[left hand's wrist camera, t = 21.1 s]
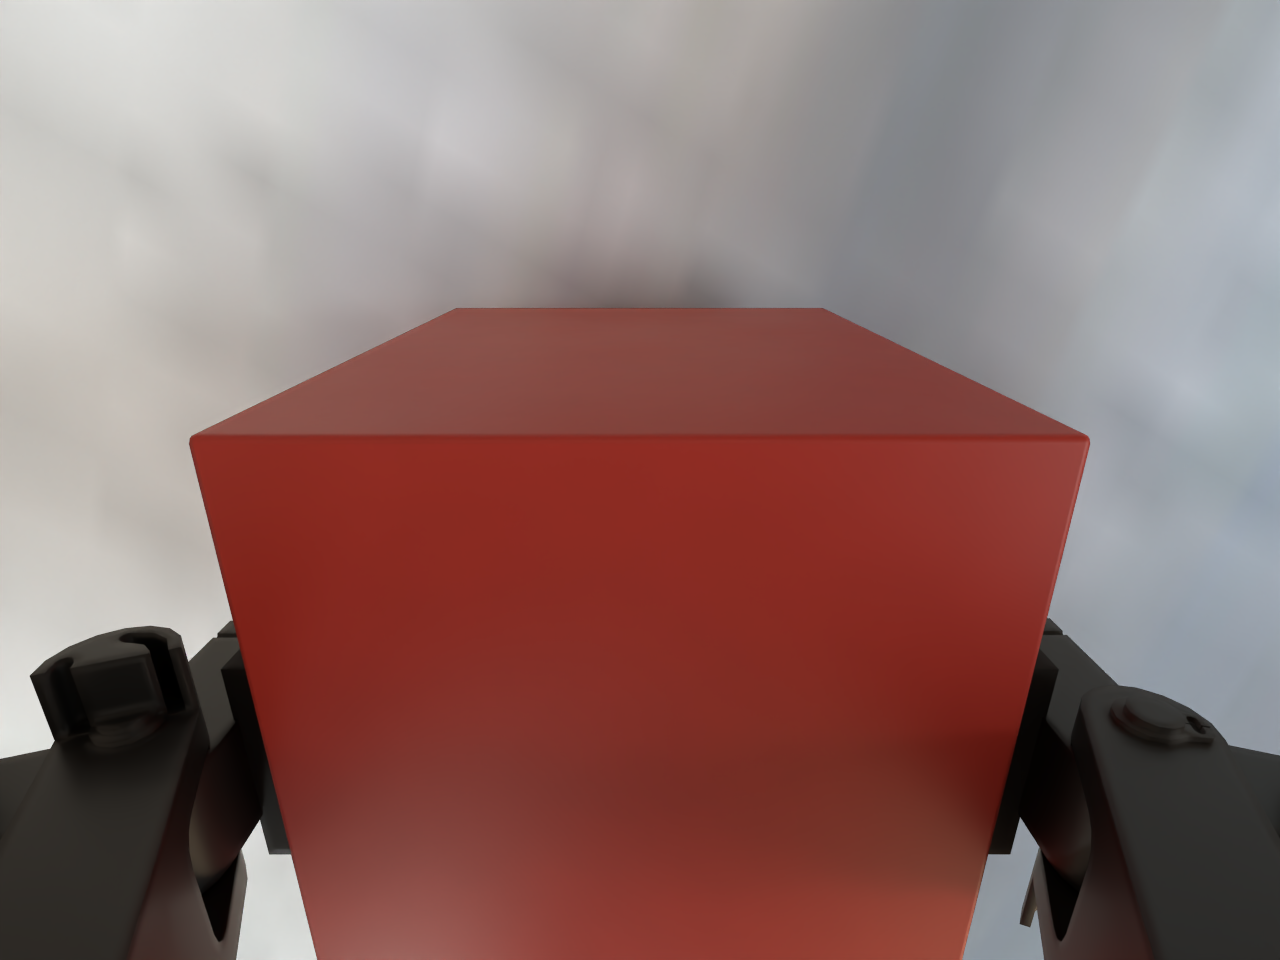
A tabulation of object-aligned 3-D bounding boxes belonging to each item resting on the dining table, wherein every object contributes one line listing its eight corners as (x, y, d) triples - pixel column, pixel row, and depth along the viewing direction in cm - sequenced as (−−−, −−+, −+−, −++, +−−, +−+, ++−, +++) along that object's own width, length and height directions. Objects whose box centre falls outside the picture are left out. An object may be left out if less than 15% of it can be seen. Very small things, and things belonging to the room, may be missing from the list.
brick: (825, 307, 14) (1097, 435, 6) (792, 654, 17) (937, 1067, 9) (453, 307, 14) (182, 436, 6) (486, 655, 17) (341, 1069, 9)
